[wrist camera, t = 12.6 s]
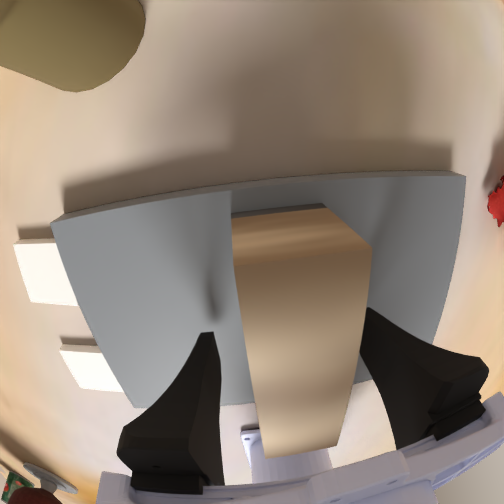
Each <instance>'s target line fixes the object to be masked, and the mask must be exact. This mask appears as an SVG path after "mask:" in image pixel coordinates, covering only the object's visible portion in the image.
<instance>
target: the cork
mask: <svg viewBox="0 0 504 504" xmlns="http://www.w3.org/2000/svg"><path fill="white" fill-rule="evenodd" d="M144 26H145V16H144V12H143V8H142V5H141V4H140V3H139V2H138V1H137V0H0V66H2V67H5V68H7V69H10V70H13V71H16V72H18V73H21V74H23V75H26V76H29V77H31V78H34V79H36V80H39V81H41V82H44V83H46V84H49V85H51V86H53V87H56V88H58V89H60V90H63V91H70V92H81V91H86V90H91V89H94V88H96V87H97V86H99V85H101V84H103V83H105V82H107V81H109V80H110V79H111V78H112V77H114V76H115V75H116V74H117V73H118V72H120V71H121V70H122V69H123V68H124V67H125V66H126V64H127V63H128V62H129V60H130V59H131V58H132V56H133V55H134V54H135V53H136V51H137V48H138V46H139V44H140V42H141V39H142V37H143V34H144Z"/></svg>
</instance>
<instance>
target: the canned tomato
mask: <svg viewBox="0 0 504 504" xmlns="http://www.w3.org/2000/svg"><path fill="white" fill-rule="evenodd" d="M23 486H26V487H32V488H34V484H33V483H31V482H30V481H29V480H27V479H25V478H24V477H22V476H20V475H19V474H17V473H15V472H13V471H9V475H8V478H7V481H6V484H5V488H4V491H3V494H2V498H1V500H2V501H3V502H5V503H6V504H8V500H9V498H10V496H11V495H12V493H13V492H14V490H16V489H18V488H20V487H23Z"/></svg>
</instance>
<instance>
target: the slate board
mask: <svg viewBox="0 0 504 504" xmlns="http://www.w3.org/2000/svg"><path fill="white" fill-rule="evenodd" d="M465 185H466V176H464V175H461V174H458V173H455V172H452V171H377V172H353V173H335V174H320V175H307V176H295V177H284V178H274V179H264V180H255V181H247V182H238V183H230V184H223V185H215V186H208V187H201V188H195V189H188V190H182V191H175V192H169V193H164V194H158V195H152V196H147V197H141V198H136V199H131V200H126V201H121V202H116V203H111V204H106V205H101V206H97V207H92V208H88V209H83V210H79V211H75V212H71V213H66V214H63V215H62V216H60V217H59V218H57V219H56V220H54V221H53V222H51V223H50V225H51V229H52V232H53V236H54V239H55V242H56V245H57V248H58V251H59V254H60V257H61V260H62V263H63V266H64V269H65V271H66V274H67V277H68V279H69V282H70V284H71V287H72V290H73V292H74V294H75V297H76V299H77V302H78V304H79V306H80V309H81V311H82V313H83V315H84V318H85V320H86V322H87V324H88V326H89V328H90V330H91V332H92V335H93V337H94V339H95V341H96V343H97V345H98V347H99V348H100V350H101V352H102V354H103V356H104V358H105V360H106V362H107V363H108V365H109V367H110V369H111V371H112V372H113V374H114V376H115V378H116V379H117V381H118V383H119V384H120V386H121V388H122V389H123V391H124V393H125V394H126V396H127V397H128V399H129V401H130V402H131V404H132V405H133V407H134V408H149V407H150V406H151V405H152V404H154V403H155V402H156V401H157V400H158V398H159V397H160V396H161V395H162V394H163V393H164V392H165V391H166V389H167V388H168V387H169V386H170V385H171V383H172V382H173V381H174V379H175V378H176V376H177V375H178V373H179V372H180V370H181V369H182V367H183V366H184V364H185V362H186V360H187V359H188V357H189V355H190V353H191V351H192V349H193V347H194V345H195V343H196V341H197V339H198V336H199V334H200V333H202V332H212V331H214V336H215V340H216V344H217V348H218V352H219V356H220V360H221V374H222V383H221V398H220V406H227V405H238V404H247V403H255V399H254V393H253V387H252V381H251V375H250V369H249V363H248V357H247V351H246V345H245V339H244V332H243V326H242V320H241V313H240V307H239V301H238V294H237V287H236V281H235V274H234V267H233V249H232V228H231V213H235V212H243V211H251V210H260V209H269V208H277V207H286V206H296V205H306V204H316V203H323V204H324V205H325V206H326V207H327V208H328V209H330V210H331V211H332V212H333V213H334V214H335V215H337V216H338V217H339V218H340V219H341V220H342V221H343V222H345V223H346V224H347V225H348V226H349V227H350V228H351V229H352V230H354V231H355V232H356V233H357V234H358V235H359V236H360V237H361V238H362V239H363V240H365V241H366V242H367V243H368V244H369V245H370V246H371V247H372V260H371V271H370V281H369V290H368V298H367V306H366V308H367V307H370V308H372V309H373V310H375V311H376V312H378V313H379V314H381V315H382V316H384V317H385V318H386V319H388V320H389V321H391V322H392V323H394V324H395V325H397V326H398V327H400V328H402V329H403V330H405V331H406V332H408V333H410V334H412V335H413V336H415V337H417V338H419V339H421V340H423V341H425V342H427V343H429V344H432V343H433V340H434V337H435V334H436V331H437V328H438V325H439V321H440V318H441V315H442V311H443V308H444V304H445V301H446V297H447V293H448V289H449V285H450V281H451V277H452V273H453V268H454V263H455V259H456V253H457V248H458V242H459V236H460V230H461V223H462V215H463V207H464V197H465ZM371 379H373V378H372V376H371V375H370V373H369V371H368V369H367V367H366V365H365V363H364V361H363V359H362V358H361V356H360V353H359V356H358V361H357V366H356V371H355V376H354V380H353V384H356V383H360V382H364V381H368V380H371Z"/></svg>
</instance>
